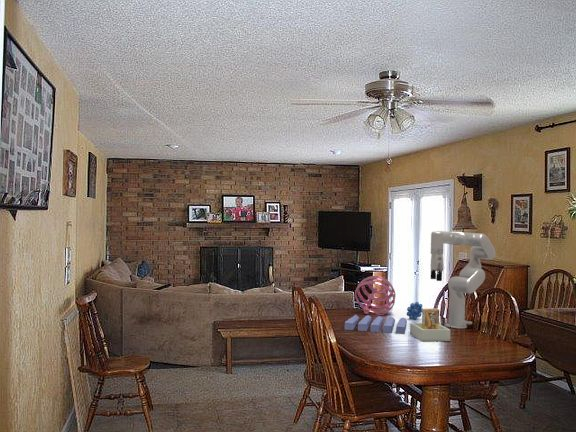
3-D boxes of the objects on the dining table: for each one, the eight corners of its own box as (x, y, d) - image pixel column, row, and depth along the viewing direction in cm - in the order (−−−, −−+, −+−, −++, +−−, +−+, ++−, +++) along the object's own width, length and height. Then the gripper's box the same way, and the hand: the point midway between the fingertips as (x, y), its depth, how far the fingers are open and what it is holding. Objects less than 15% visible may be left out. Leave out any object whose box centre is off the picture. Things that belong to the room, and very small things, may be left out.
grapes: (420, 318, 383) (421, 300, 383) (424, 320, 376) (424, 302, 376) (404, 318, 381) (404, 300, 381) (407, 320, 374) (408, 302, 374)
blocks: (344, 330, 335) (344, 322, 335) (352, 320, 369) (352, 313, 369) (404, 335, 327) (404, 326, 327) (406, 325, 360) (407, 317, 360)
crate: (436, 334, 329) (437, 323, 329) (450, 341, 309) (450, 329, 309) (410, 334, 328) (410, 322, 328) (421, 341, 308) (422, 329, 308)
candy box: (434, 335, 322) (435, 308, 322) (438, 336, 317) (439, 309, 318) (421, 335, 319) (421, 308, 319) (424, 337, 315) (425, 309, 315)
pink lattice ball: (381, 290, 371) (389, 265, 392) (344, 296, 386) (353, 271, 407) (397, 321, 382) (404, 295, 403) (360, 326, 396) (369, 301, 417)
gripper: (448, 252, 336) (447, 281, 336) (437, 251, 353) (436, 278, 353) (436, 252, 335) (435, 281, 335) (426, 250, 352) (425, 278, 352)
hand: (436, 279), depth 344 cm, fingers open, 9 cm apart
